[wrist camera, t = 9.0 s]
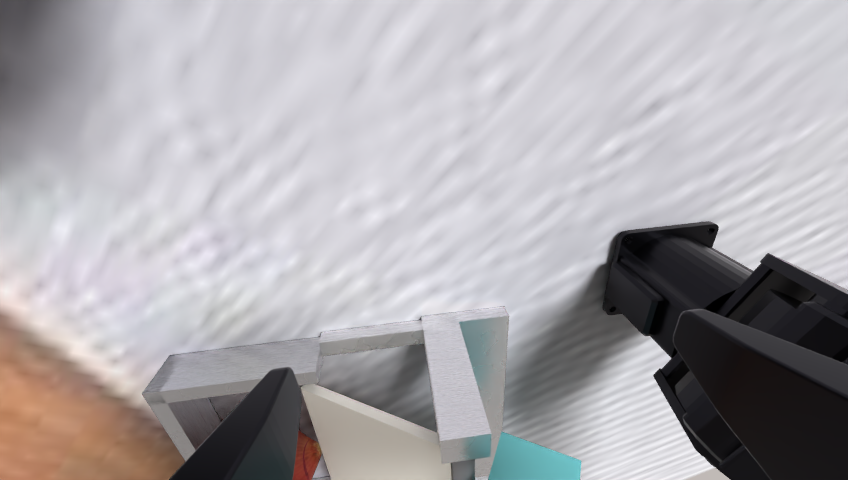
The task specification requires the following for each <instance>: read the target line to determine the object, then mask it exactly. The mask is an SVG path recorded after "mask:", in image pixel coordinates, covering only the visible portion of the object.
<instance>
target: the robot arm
mask: <svg viewBox="0 0 848 480" xmlns="http://www.w3.org/2000/svg"><path fill="white" fill-rule="evenodd" d="M718 228H719V227H718V225H716V224H714V223H712V222H699V223H690V224H681V225H672V226H663V227H654V228H645V229H636V230H627V231H623V232H622V233H621V234H620V235H619V236H618V238H617V243H616V248H615V252H614V257H613V262H612V265H611V269H610V274H609V278H608V283H607V288H606V292H605V299H604V303H603V310H604V311H605V312H606V313H607V314H608V315H615V314H624V315H625V317H626V318H627V319H628V320H629V321H630V322H631V323H632V324H633V325H634V326H635V327H636V328H637V329H638V330H639V331H640V332H641V333H642V334H643V335H644V336H651V337H652V339H653V340H654V341H655V342H656V343H657V344H658V345H659V346H660V347H661V348H662V349H663V350H664V351H665V352H666V353H667V354H668V355H669V356H670V357H671V358H672V359H671V360H670V361H669V362H668V363H667V364H666V365H665V366H664V367H663V368H662V369H659V370H658V371H657V372H656V373H655V374H654V375H653V376H654V378H655V380H656V382H657V383H658V385H659V387H660V389H661V391H662V392H663V394H664V396H665V398H666V399H667V401H668V403H669V404H670V406H671V408H672V410H673V411H674V413H675V415H676V417H677V418H678V420H679V422H680V424H681V425H682V427H683V429H684V431H685V432H686V434H687V436H688V437H689V439H690V441H691V443H692V444H693V446H694V448H695V449H696V450H697V451H698V452H699V453H700V454H701V455H702V456H704V457H705V458H706V460H707V461H708V462H709V463H710V464H711V465H713V466H714V467H716V468H717V469H718V470H719V471H720V472H722V473H723V474H724V475H725V476H727V477H728V478H729V479H731V480H848V290H847V289H844V288H842V287H840V286H838V285H836V284H834V283H832V282H830V281H828V280H826V279H824V278H822V277H819V276H817V275H815V274H813V273H811V272H808V271H806V270H804V269H802V268H800V267H797V266H795V265H793V264H791V263H789V262H786V261H784V260H782V259H780V258H778V257H775V256H773V255H771V254H769V253H767V255H766V256H765V257H764V258H763V259H762V260H761V261H760V262H761V264H760V265H759V266H758V267H757V268H756V269H755V271H752V270H751V269H749V268H747V267H745V266H744V265H742V264H740V263H738V262H737V261H735V260H733V259H731V258H730V257H728V256H726V255H724V254H723V253H721V252H719V251H717V250H715V249H714V248H712V246H713V243H714V241H715V238H716V235H717V232H718ZM708 229H709V230H708ZM628 237H629V238H628ZM626 238H628V239H627V240H626ZM625 240H626V241H625ZM301 403H302V396H301V391H300V388H299V385H298V383H297V380H296V377H295V374H294V372H293V370H292V368H290V367H282V368H275V369H272V370H270V371H269V372H268V373H267V374H266V375H265V376H264V377H263V378H262V379H261V380H260V382H259V383H258V384H257V385H256V386H255V387H254V388H253V389H252V390H251V391H250V392H249V393H248V395H247V396H246V397H245V398H244V399H243V400H242V401H241V402H240V403H239V404H238V405H237V406H236V407H235V409H234V410H233V411H232V412H231V413H230V414H229V415H228V416H227V417H226V418H225V419H224V420H223V421H222V423H221V424H220V425H219V426H218V427H217V428H216V429H215V430H214V431H213V432H212V433H211V434H210V436H209V437H208V438H207V439H206V440H205V441H204V442H203V443H202V444H201V445H200V446H199V447H198V448H197V450H196V451H195V452H194V453H193V454H192V455H191V456H190V457H189V458H188V459H187V460H186V461H185V463H184V464H183V465H182V466H181V467H180V468H179V469H178V470H177V471H176V472H175V473H174V474H173V475H172V477H171V478H170V479H169V480H293V474H294V467H295V458H296V449H297V440H298V431H299V421H300V412H301Z"/></svg>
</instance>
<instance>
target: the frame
mask: <svg viewBox="0 0 848 480" xmlns="http://www.w3.org/2000/svg"><path fill="white" fill-rule="evenodd" d="M421 319H422V320H416V321H408V322H400V323H392V324H384V325H376V326H367V327H359V328H351V329H343V330H335V331H327V332H321V336H320V337H316V338H307V339H299V340H291V341H283V342H275V343H267V344H259V345H251V346H243V347H235V348H226V349H218V350H210V351H202V352H194V353H186V354H178V355H170V356H169V357H168V358H167V360H166V361H165V362H164V364H163V365H162V367H161V368H160V369H159V371H158V372H157V374H156V375H155V376H154V378H153V379H152V381H151V382H150V383H149V385H148V386H147V387H146V389H145V390H144V392H143V393H142V395H143V397H144V398H145V400H146V401H147V403H148V404H149V406H150V407H151V409H152V410H153V412H154V413H155V415H156V417H157V418H158V420H159V421H160V423H161V424H162V426H163V427H164V429H165V430H166V432H167V433H168V435H169V437H170V438H171V440H172V441H173V443H174V444H175V446H176V447H177V449H178V450H179V452H180V454H181V455H182V457H183V458H184V460H185V461H186V460H187V459H188V458H189V457H190V456H191V455H192V454H193V453H194V452H195V451H196V450H197V448H198V447H199V446H200V445H201V444H202V443H203V442H204V441H205V440H206V439H207V438H208V437H209V436H210V434H211V433H212V432H213V431H214V430H215V429H216V428H217V427H218V426H219V425H220V424H221V421H220V419H219V417H218V415H217V413H216V412H215V410H214V408H213V406H212V404H211V402H210V400H209V398H208V397H216V396H224V395H231V394H239V393H246V392H250V391H251V390H252V389H253V388H254V387H255V386H256V385H257V384H258V383H259V382H260V380H261V379H262V378H263V377H264V376H265V375H266V374H267V373H268V372H269V371H270V370H272V369H275V368H282V367H290V368H292V370H293V372H294V374H295V377H296V380H297V383H298V385H299V386H300V385H307V384H315V383H318V382H319V377H320V372H321V367H322V362H323V357H324V356H329V355H337V354H345V353H353V352H360V351H368V350H376V349H384V348H392V347H400V346H408V345H416V344H423V343H424V346H425V353H426V360H427V367H428V374H429V380H430V387H431V394H432V401H433V407H434V414H435V421H436V428H437V435H438V441H439V448H440V455H441V462H442V464H445V463H452V462H459V461H465V460H472V459H475V477H481V476H488V475H490V471H491V467H492V464H493V460H494V457H495V453H496V449H497V446H498V442H499V439H500V435H501V432H502V424H503V407H504V391H505V374H506V358H507V341H508V325H509V315H508V313H507V311H506V309H505V307H504V306H503V307H495V308H486V309H478V310H470V311H462V312H454V313H445V314H437V315H429V316H421ZM311 480H331V478H330V477H323V478H316V479H311Z"/></svg>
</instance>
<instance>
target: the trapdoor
mask: <svg viewBox="0 0 848 480" xmlns="http://www.w3.org/2000/svg"><path fill="white" fill-rule="evenodd" d="M301 391H302V394H303V397H304V400H305V403H306V406H307V409H308V412H309V415H310V418H311V421H312V424H313V427H314V430H315V433H316V436H317V439H318V442H319V445H320V448H321V451H322V454H323V457H324V460H325V463H326V466H327V469H328V472H329V475H330V478H331V480H475V459H472V460H465V461H459V462H452V463H445V464H442V462H441V455H440V448H439V441H438V435H437V432H434V431H432V430H429V429H427V428H424V427H422V426H419V425H417V424H414V423H411V422H409V421H406V420H404V419H401V418H399V417H396V416H394V415H391V414H389V413H386V412H384V411H381V410H379V409H376V408H374V407H371V406H369V405H366V404H364V403H361V402H359V401H356V400H354V399H351V398H349V397H346V396H344V395H341V394H339V393H336V392H334V391H331V390H328V389H326V388H323V387H321V386H318V385H316V384H307V385H303V386H302V387H301ZM580 471H581V460H578V459H575V458H572V457H570V456H567V455H564V454H562V453H559V452H556V451H553V450H551V449H548V448H545V447H542V446H540V445H537V444H534V443H532V442H529V441H526V440H523V439H521V438H518V437H515V436H512V435H510V434H507V433H504V432H501V435H500V439H499V442H498V446H497V449H496V453H495V457H494V460H493V464H492V467H491V471H490V475H489V478H488V480H580Z"/></svg>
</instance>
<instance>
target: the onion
mask: <svg viewBox="0 0 848 480" xmlns="http://www.w3.org/2000/svg"><path fill="white" fill-rule="evenodd" d="M321 454H322V451H321V448H320V445H319V443H318V442H317V441H315V440H313V439H311V438H309V437H307V436H306V435H305V434H303V433H302V432H301V431H298V440H297V449H296V458H295V467H294V474H293V480H311V479H312V477H313V475H314V472H315V470H316V467H317V465H318V462H319V460H320V457H321Z"/></svg>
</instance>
